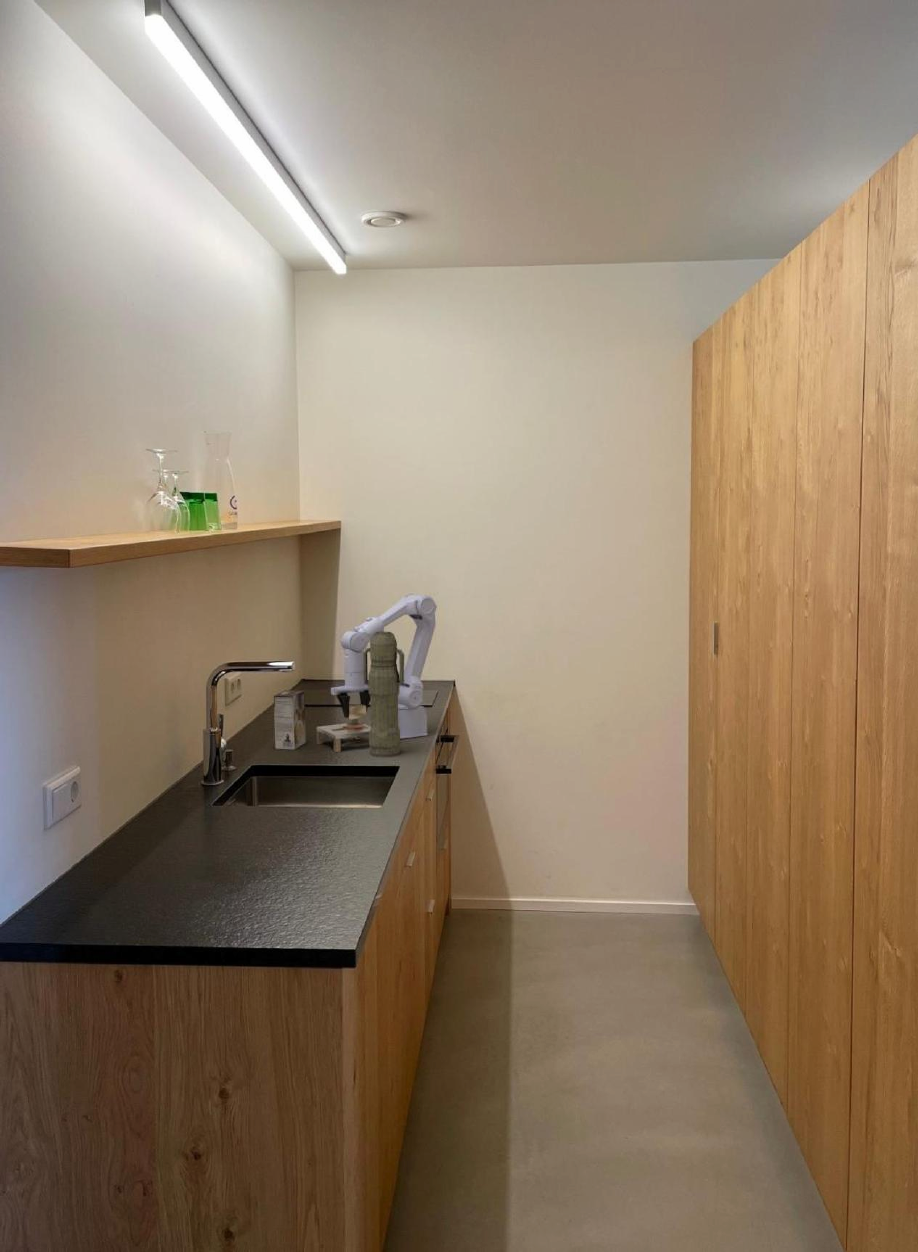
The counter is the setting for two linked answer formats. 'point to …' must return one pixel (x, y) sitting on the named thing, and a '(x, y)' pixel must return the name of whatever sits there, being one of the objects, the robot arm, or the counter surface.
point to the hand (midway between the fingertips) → (355, 716)
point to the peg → (356, 716)
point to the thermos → (384, 693)
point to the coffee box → (289, 719)
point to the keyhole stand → (340, 733)
